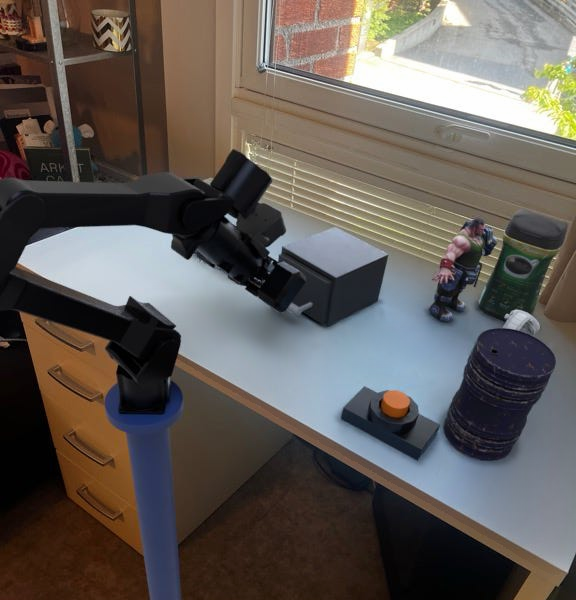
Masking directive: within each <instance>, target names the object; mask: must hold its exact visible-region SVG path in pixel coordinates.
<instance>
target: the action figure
mask: <svg viewBox="0 0 576 600" xmlns="http://www.w3.org/2000/svg"><path fill="white" fill-rule="evenodd" d="M497 244H498V240H497V238H496V237H495V236H494V229H493V228H492V227H490V226H487V225H486V221H485V220H484V219H483V218H481V217H475V218H472V219H471V220H466V221H465V222H464V223H463V225H462V226H461V228H460V230H459V232H458V233H457V234H456V235H455V236H454V237H453V239H452V240H451V242H450V244H448V246H447V247H446V251H445V254H444V255H443V256H442V258H441V259H440V263H439V269H438V272H437V273H436V275H433V277H432V278H431V281H433V282H437V287H436V291H435V293H434V301H433V302H432V303H431V304H430V306H429V307H428V312H429V314H430V315H431V316H432V317H433V318H435V319H437V321H440V322H441V323H449V322H451V321H452V320H453V318H454V317H453V313H452V312H451V311H449V310H447V308H449V309H451V310H453V311H454V312H457V313H463V312H464V310H465V309H466V304H465V303H464V302H463V301H462V300H460V299H459V295H460V294H461V293H463V290H464V289H466V287H467V286H468V285H469V286H472V285H473V288H476V287H477V285H478V281H479V278H480V275H481V271H482V269H483V263H482V262H480V261H481V258H482V256H483V257H488V256H490V255H491V254H492V253H493V250H494V248H495V247H496V246H497Z"/></svg>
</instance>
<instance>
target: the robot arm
mask: <svg viewBox="0 0 576 600" xmlns="http://www.w3.org/2000/svg"><path fill="white" fill-rule="evenodd" d="M273 181H274V179H273V178H272V177H271V175H270V174H269V172H268V171H266V170H264V169H263V168H261V167H260V166H259V165H258V164H256V163H255V162H253V161H252V160H251V159H249V158H248V157H247V156H246V154H244V152H241V151H240V150H237V149H235V148H232V149H231V151H230V152H229V153H228V155H227V157H226V158H225V161H224V163H223V164H222V165H221V167H220V169H219V170H218V171H217V173H216V175H215V176H214V177H213V179H212V180H211V182H210V183H208V182H205V181H204V180H203V179H201V178H199V177H196V176H194V177H180V176H177V175H176V174H175V173H173V172H169V171H164V172H163V171H162V172H158V173H157V172H156V173H150V174H143V175H141V176H139V177H138V178H136V179H134V180H132V181H127V182H92V181H91V182H89V181H60V180H58V181H55V180H25V179H20V178H17V177H3V178H0V312H3V311H15V312H16V311H17V312H19V313H23V314H26V315H29V316H32V317H35V318H38V319H42V320H44V321H48V322H50V323H54V324H57V325H60V326H63V327H66V328H69V329H73V330H75V331H77V332H82V333H85V334H87V335H92V336H95V337H96V338H97V337H98V338H99V339H103V340H106V341H109V342H107V344H106V346H104V347H105V348H104V350H105V352H106V353H107V355H108V356H109V358H110V359H112V360H113V361H114V362H115V363H116V364H117V367H116V371H115V375H116V383H118V390H119V397H120V403H119V407H118V413H119V414H150V415H163V414H164V413H165V409H166V403H168V402H169V400H170V392H171V388H170V380H171V377H172V375H173V372H174V369H175V366H176V363H177V359H178V356H179V352H180V348H181V344H182V335H181V334H180V332H179V331H177V329H176V327H177V325H176V324H175V323H174V322H173V321H172V320H171V319H169V318H168V316H166V315H164V314H163V313H162V312H161V311H160V310H159V309H157V308H156V307H155V306H153V305H152V304H151V303H150V302H141V301H139V300H137V299H136V298H135V297H133V296H132V295H129V296H128V299H127V300H126V303H125V304H123V305H122V304H121V305H114V304H112V303H109V302H106V301H103V300H101V299H99V298H97V297H93V296H91V295H88V294H86V293H83V292H81V291H78V290H77V289H73V288H71V287H68V286H65V285H63V284H61V283H58V282H55V281H53V280H50V279H48V278H45V277H42V276H40V275H39V274H35V273H32V272H30V271H28V270H26V269H22V268H21V267H17V264H18V263H19V261H20V260H21V259H20V258H21V257H22V255H23V253H24V251H25V249H26V247H27V245H28V243H29V241H30V239H31V238H32V237H33V236H34V235H35V234H36V233H37V232H38V231H40V229H59V228H60V229H61V228H94V227H95V228H97V227H127V226H128V227H129V226H131V227H132V226H135V227H143V228H148V229H150V230H154V231H157V232H160V233H163V234H168V235H171V236H172V239H171V242H170V249H171V250H172V251H173V252H175V253H176V254H178V255H179V256H181V257H182V258H184V260H186V261H190V259H191V258H192V257H193V255H194V254H195V255H196V258H197V259H199V260H200V261H201V262H203V263H204V264H206V265H207V266H209V267H210V268H212V269H213V270H214V269H215V267H217V268H218V270H219V271H220V272H222V273H224V274H225V275H226V276H227V279H229V280H230V281H232V282H234V283H235V284H236V285H238V286H241V287H242V286H243V287H244V290H245V291H247V292H249V293H250V294H251V295H253V296H254V297H256V298H258V300H260V301H262V302H263V303H264V304H265V305H267V306H269V307H270V308H271V309H273V310H275V311H276V312H277V313H278V314H282V313H285V312H287V311H288V310H287V309H288V307H289V306H290V304H291V303H292V301H293V300H294V299H295V297H296V296H297V294H298V293H299V291H300V290H301V289H302V287H303V286H304V284H305V283H306V277H305V276H304V275H303V274H302V273H301V272H300V271H299V270H297V269H295V268H294V267H292V266H290V265H289V264H287V263H285V262H284V261H283V262H280V263H279V262H278V260H276V259H274V258H273V257H271V256H269V255H270V253H271V252H270V250H268V249H267V248H268V247H270V246H272V245H273V243H275V242H276V241H277V240H278V239H280V238H281V237H283V236H284V235H285V234H287V227H286V224H285V220H284V217H283V214H282V211H280V210H279V209H277V208H275V207H273V206H272V205H269V204H267V203H266V202H261V203H260V202H259V201H260V200H261V198H263V196H264V195H265V193H266V192H267V190H268V189H269V187H270V186H271V184H272V183H273ZM227 215H229V216H230V217H231V218H234V219H236V222H235V224H234V223H232V222H231V221H230V219H228V218H227V217H226V216H227ZM195 251H196V253H195ZM121 410H123V411H121Z"/></svg>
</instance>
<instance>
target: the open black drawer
mask: <svg viewBox="0 0 576 600" xmlns="http://www.w3.org/2000/svg"><path fill="white" fill-rule="evenodd" d="M277 258H278V259H277V261H278V262H279V263H280V262H283V261H284V262H285V263H287V264H289V265H290V266H292V267H294V268H295V269H297V270H299V271H300V272H301V273H302V274H303V275H304V276H305V277H306V283H305V284H304V286H303V287H302V289H301V290H300V291H299V293H298V294H297V296H296V297H295V299H294V300H293V301H292V303H291V304H290V306H289V307H288V309H287V310H286V311H288V312H290V313H292V314H293V315H295V316H296V317H299V316H300V315H301V314H302V313H304V314H305V315H307V316H308V317H310V318H312V319H313V320H315V321H316V322H318V323H319V324H322V323H323V322H325V321H326V317H327V311H328V305H329V299H330V293H331V287H332V280H331V279H329V278H328V277H326V276H324V275H323V274H321V273H319V272H317V271H316V270H314V269H312V268H311V267H309V266H307V265H306V264H304V263H302V262H300V261H299V260H297V259H295V258H294V257H290V256H288V255H287V254H285V253H282V254H281V253H279V254H278V257H277Z"/></svg>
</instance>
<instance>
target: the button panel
mask: <svg viewBox="0 0 576 600" xmlns="http://www.w3.org/2000/svg"><path fill="white" fill-rule="evenodd" d="M391 390H392V389H391ZM391 390H389V389H386V390H382V391H378V392H377V391H376V390H373V389H371V388H369V387H368V386H363V387H362V388H361V389H360V390H359V391H358V392H357V393H356V394H355V395H354V396H353V397H352V398H351V399H350V400H349V401H348V402H347V403H346V404H345V405H344V406H343V407H342V412H341V416H340V420H342V421H344V422H346V423H348V424H349V425H351V426H353V427H355V428H357V429H359V430H361V431H362V432H364V433H366V434H368V435H369V436H372V437H373V438H375V439H377V440H379V441H381V443H382V442H383V443H384V444H386V445H388V446H389V447H392V448H394V449H395V450H397V451H399V452H401V453H402V454H404V455H407V456H408V457H409V458H411V459H414V460H415V461H419V460H420V459H421V457H422V456H423V455H424V453H425V452H426V451H427V449H428V448H429V447H430V446H431V444H432V442H433V441H434V440H435V438H436V437H437V435H438V432H439V430H440V427H441V424H440V423H438V422H436V421H434V420H433V419H430V418H428V417H426V416H424V415H423V414H421V413H420V412H419V405H418V404H417V403H416V401H415V400H413V398H412V397H411V396H410V395H407V396H408V397H409V399H410V404H409V408H408V411H407V413H406V415H405V416H403V417H400V418H396V417H391V416H389V415H387V414H385V413H384V412H383V411H382V409H381V403H382V399H383V395H384V394H385V393H386V392H387V391H391Z"/></svg>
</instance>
